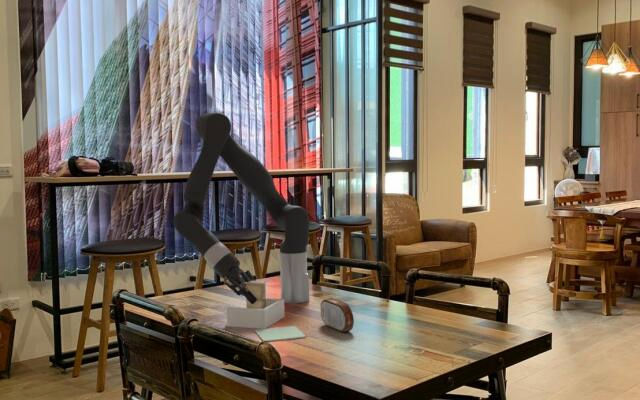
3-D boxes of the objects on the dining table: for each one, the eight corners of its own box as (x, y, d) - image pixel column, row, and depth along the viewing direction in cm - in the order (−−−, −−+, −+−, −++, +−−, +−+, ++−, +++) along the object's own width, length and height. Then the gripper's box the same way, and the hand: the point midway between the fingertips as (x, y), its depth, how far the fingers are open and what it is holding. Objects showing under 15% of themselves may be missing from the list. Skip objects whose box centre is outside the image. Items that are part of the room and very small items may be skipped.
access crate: (225, 327, 201) (225, 307, 200) (247, 315, 215) (246, 297, 215) (265, 330, 197) (264, 310, 196) (284, 317, 211) (284, 299, 210)
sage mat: (294, 327, 198) (294, 325, 198) (305, 337, 186) (305, 336, 186) (254, 331, 194) (254, 329, 194) (263, 342, 183) (263, 340, 183)
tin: (354, 333, 189) (354, 304, 189) (345, 335, 188) (344, 305, 187) (328, 322, 202) (327, 295, 202) (319, 324, 201) (318, 296, 200)
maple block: (252, 312, 208) (252, 280, 208) (266, 313, 207) (265, 281, 206) (246, 315, 204) (245, 283, 203) (260, 316, 203) (259, 284, 202)
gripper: (218, 255, 200) (256, 297, 197) (239, 248, 214) (275, 287, 211) (203, 272, 202) (240, 313, 199) (224, 264, 216) (260, 303, 213)
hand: (258, 300), depth 205 cm, fingers closed on maple block, 4 cm apart
